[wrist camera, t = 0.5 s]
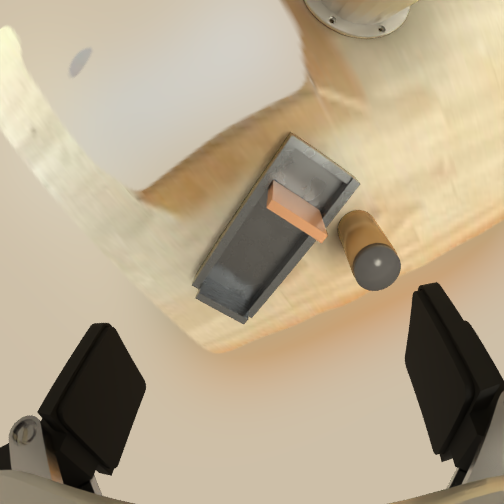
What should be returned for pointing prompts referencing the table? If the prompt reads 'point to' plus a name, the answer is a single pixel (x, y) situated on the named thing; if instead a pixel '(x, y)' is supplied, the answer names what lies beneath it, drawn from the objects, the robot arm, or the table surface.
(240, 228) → the tray
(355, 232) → the jar
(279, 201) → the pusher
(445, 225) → the table surface
